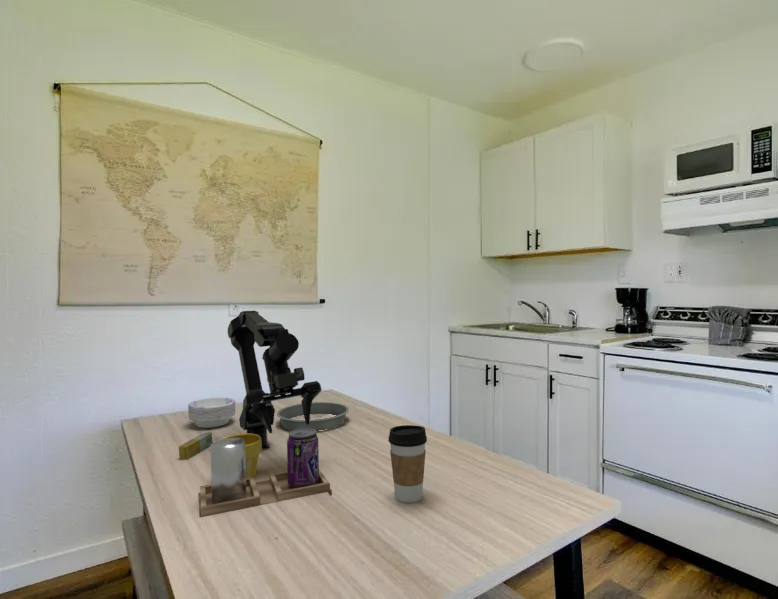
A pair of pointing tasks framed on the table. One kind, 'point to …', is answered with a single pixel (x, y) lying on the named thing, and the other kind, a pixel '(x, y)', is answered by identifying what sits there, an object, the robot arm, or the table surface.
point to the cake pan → (316, 408)
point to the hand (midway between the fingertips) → (289, 428)
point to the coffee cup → (408, 461)
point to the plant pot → (250, 451)
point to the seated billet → (228, 470)
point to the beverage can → (302, 457)
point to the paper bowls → (211, 411)
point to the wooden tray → (261, 494)
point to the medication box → (195, 446)
